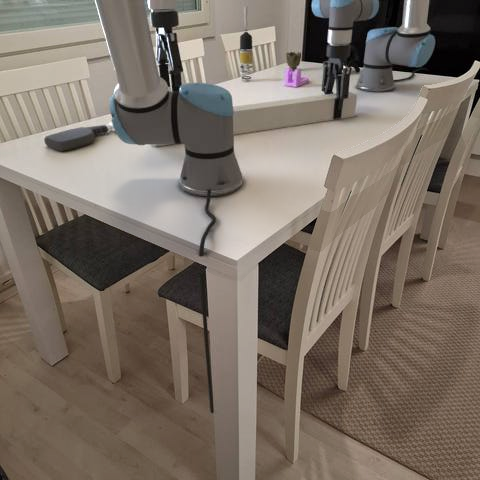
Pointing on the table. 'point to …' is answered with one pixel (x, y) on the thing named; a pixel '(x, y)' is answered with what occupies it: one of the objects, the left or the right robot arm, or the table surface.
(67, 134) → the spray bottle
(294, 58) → the cup
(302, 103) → the bar
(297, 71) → the bracket
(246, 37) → the filter
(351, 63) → the squiggle
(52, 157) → the table surface
